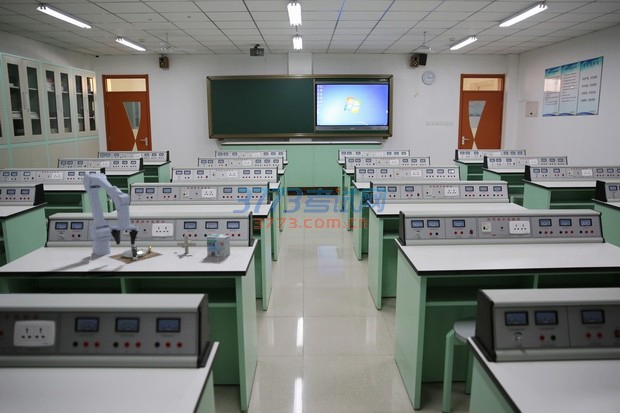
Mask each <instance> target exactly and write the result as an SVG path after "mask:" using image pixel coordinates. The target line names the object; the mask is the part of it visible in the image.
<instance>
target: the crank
mask: <svg viewBox="0 0 620 413" xmlns="http://www.w3.org/2000/svg"><path fill="white" fill-rule="evenodd" d="M143 249H144V248H138V247H137V248H133V249H132V251H131V249H128V250H125V251H123V252H121V253H122V257H124V258H133V260H138V257H142V256H145V255H146V254H147V251H146V250H147V249H145V250H143Z"/></svg>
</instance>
